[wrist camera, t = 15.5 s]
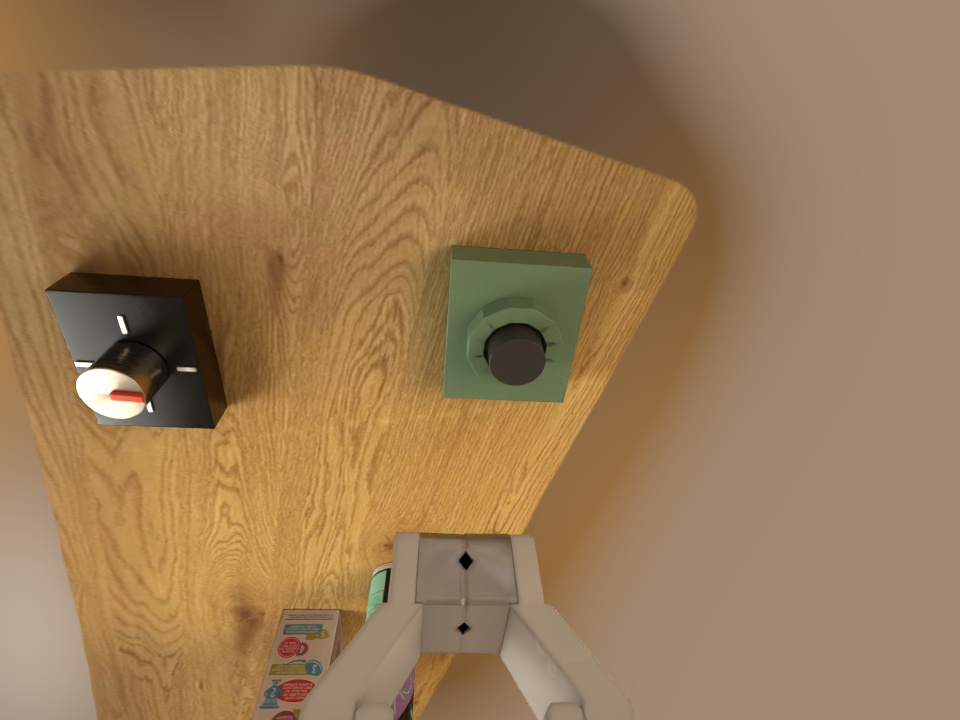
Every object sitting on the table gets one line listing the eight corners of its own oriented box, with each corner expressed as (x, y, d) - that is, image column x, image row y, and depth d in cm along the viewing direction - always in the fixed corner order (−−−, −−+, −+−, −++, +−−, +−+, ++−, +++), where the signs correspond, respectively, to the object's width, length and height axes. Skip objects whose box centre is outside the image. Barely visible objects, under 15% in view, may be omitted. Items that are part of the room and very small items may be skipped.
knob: (112, 387, 40) (82, 418, 37) (98, 337, 37) (65, 367, 34) (172, 392, 40) (149, 424, 37) (163, 344, 38) (136, 374, 35)
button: (490, 322, 37) (492, 337, 35) (545, 325, 37) (549, 340, 35) (485, 369, 39) (486, 385, 37) (537, 371, 39) (541, 387, 38)
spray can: (400, 596, 61) (381, 811, 45) (362, 579, 59) (327, 798, 43) (429, 574, 59) (421, 791, 43) (391, 555, 57) (365, 776, 40)
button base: (451, 245, 38) (451, 269, 34) (584, 254, 39) (599, 279, 35) (443, 378, 44) (442, 411, 41) (557, 383, 45) (567, 416, 42)
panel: (70, 271, 38) (42, 290, 35) (199, 279, 38) (180, 298, 36) (118, 402, 44) (97, 426, 42) (227, 406, 45) (214, 430, 42)
